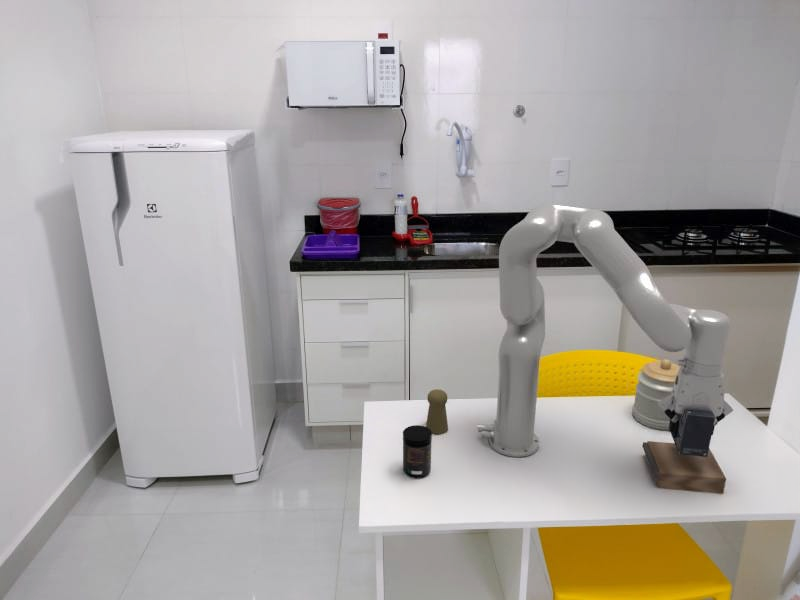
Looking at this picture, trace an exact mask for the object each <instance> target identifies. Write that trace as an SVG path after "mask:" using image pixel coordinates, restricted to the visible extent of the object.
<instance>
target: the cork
mask: <svg viewBox="0 0 800 600" xmlns="http://www.w3.org/2000/svg"><path fill="white" fill-rule="evenodd" d="M427 402H428V410H427V417H426V423H425V427H427V428H429V429H430V430H431V432H432V435H433V434H434V435H433V436H442V435H444V433H445V434H446V433H448V431H449V426H448V425H449V424H448V417H447V407H446V404H447V403H448V394H447V393H446V391H444V390H442V389H432V390H430V391H429V392H428V394H427ZM441 434H442V435H441Z"/></svg>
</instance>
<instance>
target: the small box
mask: <svg viewBox="0 0 800 600" xmlns="http://www.w3.org/2000/svg"><path fill="white" fill-rule="evenodd" d="M714 421H715V415H714V414H713V412H712V411H703V410H691V409H684V412H683V415H681V417H680V418H679V419H678V422H679V429H678V435H677V438H673V436H672V434H671V433H670V435H671V437H672V440H673V443H675V445H676V448H677V451H678V453H679V454H684V455H693V456H702V457H707V455H708V450H709V449H710V444H711V439H712V436H713V435H712V431H713V426H714Z"/></svg>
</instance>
